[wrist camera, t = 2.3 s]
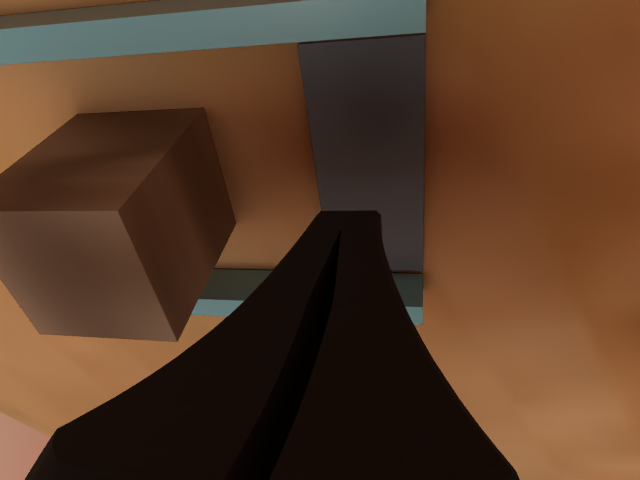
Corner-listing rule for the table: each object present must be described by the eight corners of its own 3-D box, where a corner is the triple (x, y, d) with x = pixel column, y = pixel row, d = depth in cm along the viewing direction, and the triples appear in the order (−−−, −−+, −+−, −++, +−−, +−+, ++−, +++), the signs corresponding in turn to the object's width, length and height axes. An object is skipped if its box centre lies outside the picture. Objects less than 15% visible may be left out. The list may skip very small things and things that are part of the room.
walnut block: (204, 107, 14) (117, 210, 10) (236, 222, 16) (177, 341, 12) (78, 113, 14) (-48, 211, 11) (126, 222, 17) (39, 334, 13)
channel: (426, -27, 11) (426, -11, 9) (422, 291, 16) (422, 325, 15) (-34, 19, 13) (-79, 36, 12) (105, 281, 19) (85, 310, 18)
